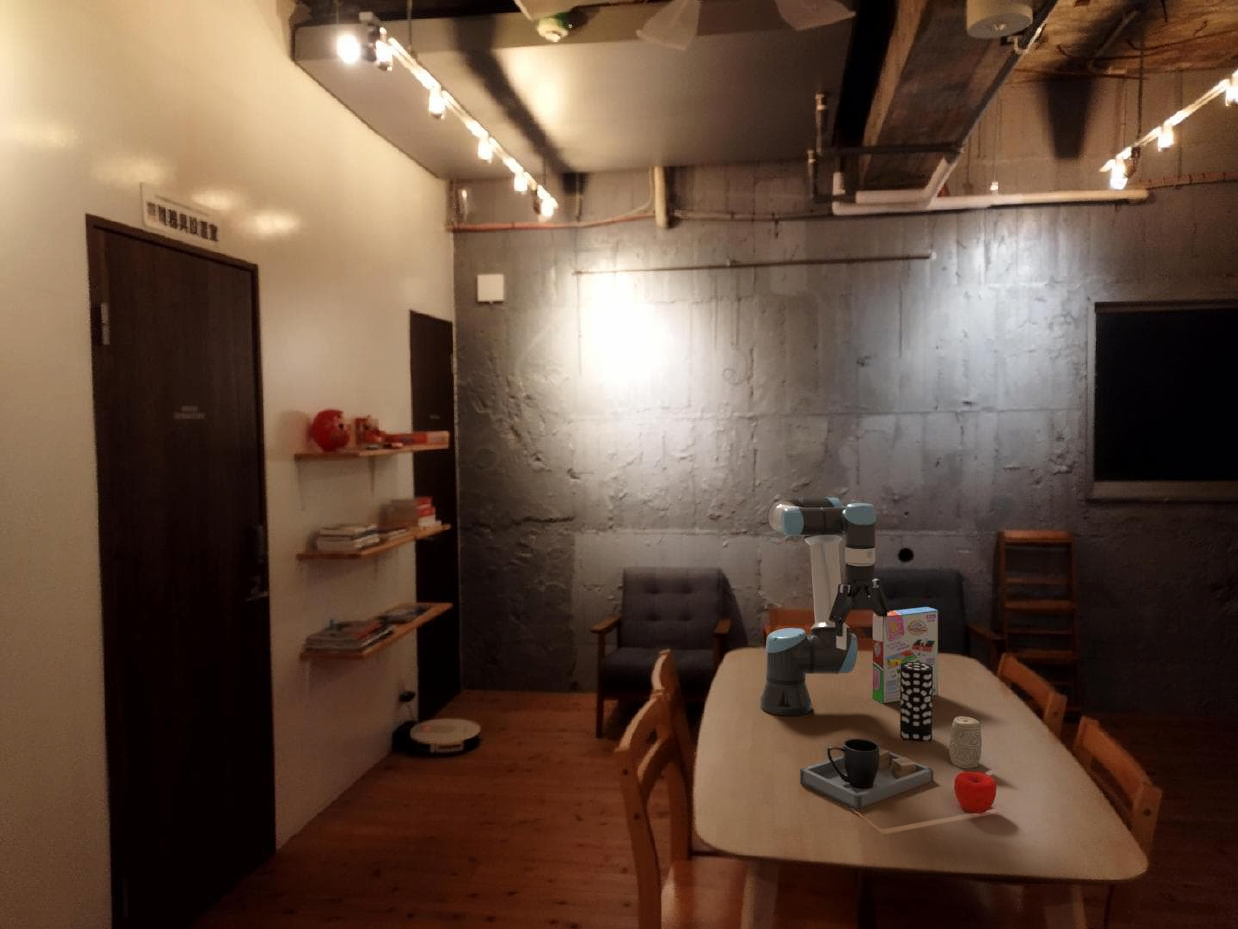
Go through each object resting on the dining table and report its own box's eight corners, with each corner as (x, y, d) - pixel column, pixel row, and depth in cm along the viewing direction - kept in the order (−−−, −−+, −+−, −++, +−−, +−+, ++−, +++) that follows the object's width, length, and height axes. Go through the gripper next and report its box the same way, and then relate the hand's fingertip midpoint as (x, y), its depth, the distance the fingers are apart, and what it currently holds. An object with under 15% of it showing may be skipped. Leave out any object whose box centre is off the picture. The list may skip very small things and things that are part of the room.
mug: (825, 775, 210) (825, 737, 209) (875, 777, 208) (876, 739, 208) (829, 790, 202) (829, 750, 201) (881, 792, 200) (882, 752, 200)
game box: (927, 690, 274) (928, 606, 272) (938, 696, 269) (939, 610, 267) (871, 698, 268) (871, 612, 266) (882, 704, 262) (882, 616, 261)
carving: (982, 773, 212) (982, 725, 211) (949, 769, 214) (949, 722, 214) (981, 763, 218) (981, 717, 217) (949, 759, 220) (949, 713, 220)
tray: (800, 783, 208) (800, 769, 207) (874, 758, 222) (874, 745, 221) (857, 812, 192) (857, 796, 192) (933, 783, 206) (933, 769, 206)
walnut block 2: (891, 775, 209) (891, 759, 209) (905, 773, 211) (905, 757, 210) (901, 782, 206) (901, 766, 205) (916, 780, 207) (916, 763, 207)
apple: (974, 823, 187) (975, 788, 186) (944, 806, 195) (944, 772, 194) (1005, 815, 190) (1005, 780, 190) (974, 799, 198) (974, 765, 198)
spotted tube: (931, 734, 237) (932, 663, 236) (932, 746, 229) (933, 672, 228) (900, 731, 240) (900, 660, 239) (899, 742, 232) (900, 669, 231)
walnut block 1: (866, 766, 215) (866, 750, 215) (874, 761, 218) (874, 746, 217) (880, 771, 212) (880, 755, 212) (889, 766, 215) (889, 750, 214)
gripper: (836, 570, 213) (836, 655, 214) (904, 560, 226) (903, 640, 227) (814, 566, 219) (814, 648, 220) (881, 556, 232) (881, 634, 234)
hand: (859, 644), depth 224 cm, fingers open, 13 cm apart
